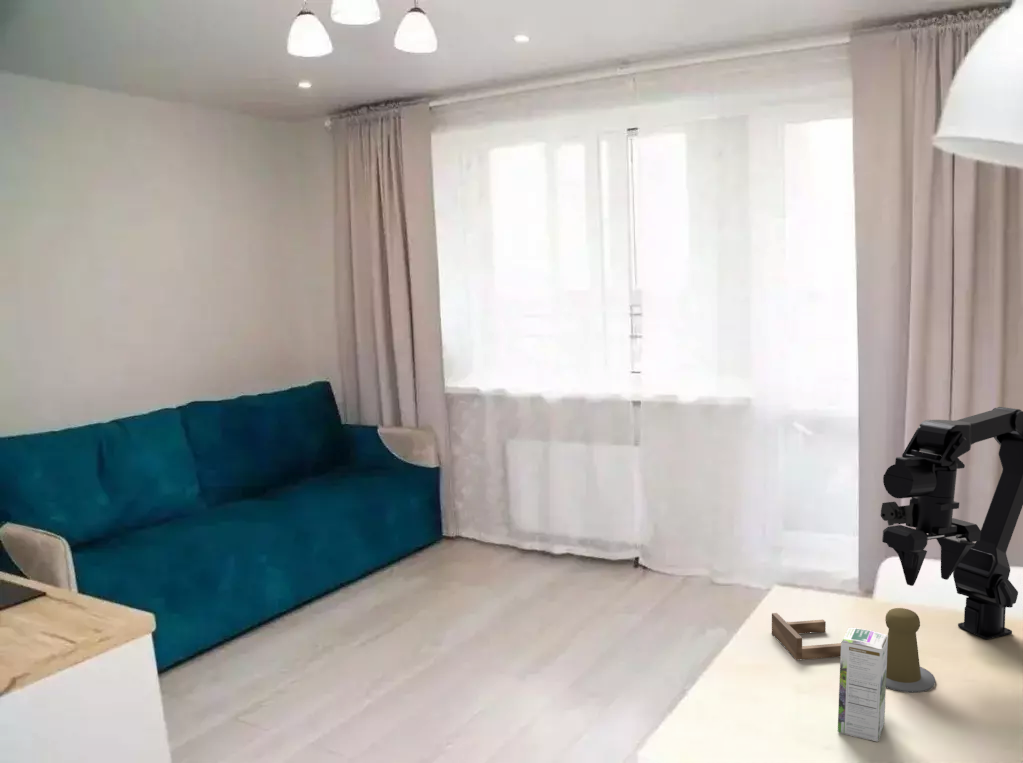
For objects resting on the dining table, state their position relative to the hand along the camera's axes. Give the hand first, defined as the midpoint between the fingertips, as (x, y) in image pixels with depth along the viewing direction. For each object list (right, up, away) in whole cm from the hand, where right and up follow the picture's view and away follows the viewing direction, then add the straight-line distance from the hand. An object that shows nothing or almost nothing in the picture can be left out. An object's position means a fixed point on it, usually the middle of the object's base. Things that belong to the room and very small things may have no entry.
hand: (927, 582), depth 150 cm
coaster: (-8, -14, -7) cm, 18 cm away
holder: (-18, -13, +6) cm, 23 cm away
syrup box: (-20, -17, -22) cm, 34 cm away
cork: (-8, -14, -7) cm, 17 cm away
